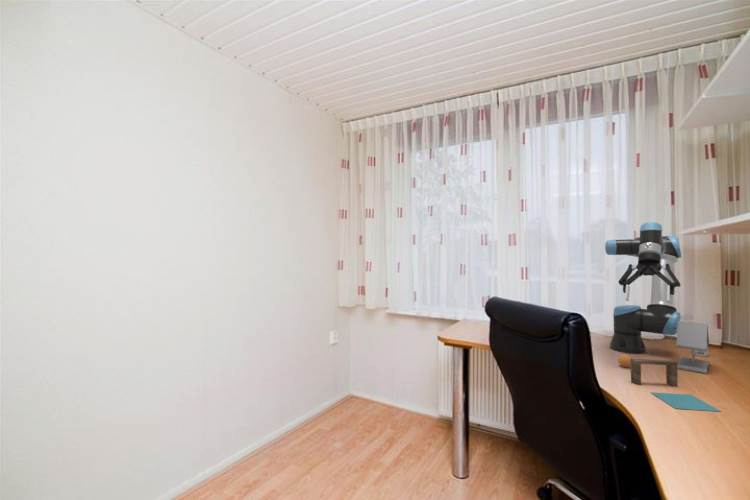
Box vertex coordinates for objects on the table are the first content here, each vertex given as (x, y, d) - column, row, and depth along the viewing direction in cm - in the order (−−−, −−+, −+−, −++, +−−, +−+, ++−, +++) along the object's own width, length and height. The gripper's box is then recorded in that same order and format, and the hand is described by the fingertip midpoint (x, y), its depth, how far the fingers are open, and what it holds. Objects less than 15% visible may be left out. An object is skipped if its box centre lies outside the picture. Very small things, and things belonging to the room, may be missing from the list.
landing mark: (650, 392, 124) (650, 392, 124) (691, 395, 122) (690, 394, 122) (675, 408, 111) (675, 408, 111) (721, 411, 109) (721, 411, 109)
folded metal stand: (706, 374, 142) (705, 327, 142) (676, 369, 149) (675, 323, 149) (709, 364, 155) (708, 320, 155) (681, 360, 162) (680, 318, 162)
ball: (615, 364, 155) (615, 352, 155) (628, 365, 154) (628, 353, 154) (622, 368, 150) (621, 356, 150) (635, 369, 149) (635, 356, 149)
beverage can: (700, 353, 172) (699, 323, 172) (711, 356, 166) (710, 326, 166) (689, 353, 172) (688, 323, 172) (699, 356, 166) (699, 326, 166)
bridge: (631, 381, 135) (630, 358, 135) (672, 383, 133) (671, 360, 133) (635, 384, 132) (635, 360, 132) (677, 386, 130) (677, 362, 130)
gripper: (612, 252, 154) (608, 295, 147) (686, 249, 135) (686, 299, 128) (617, 260, 158) (613, 302, 151) (689, 258, 139) (689, 306, 132)
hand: (647, 300), depth 139 cm, fingers open, 13 cm apart
